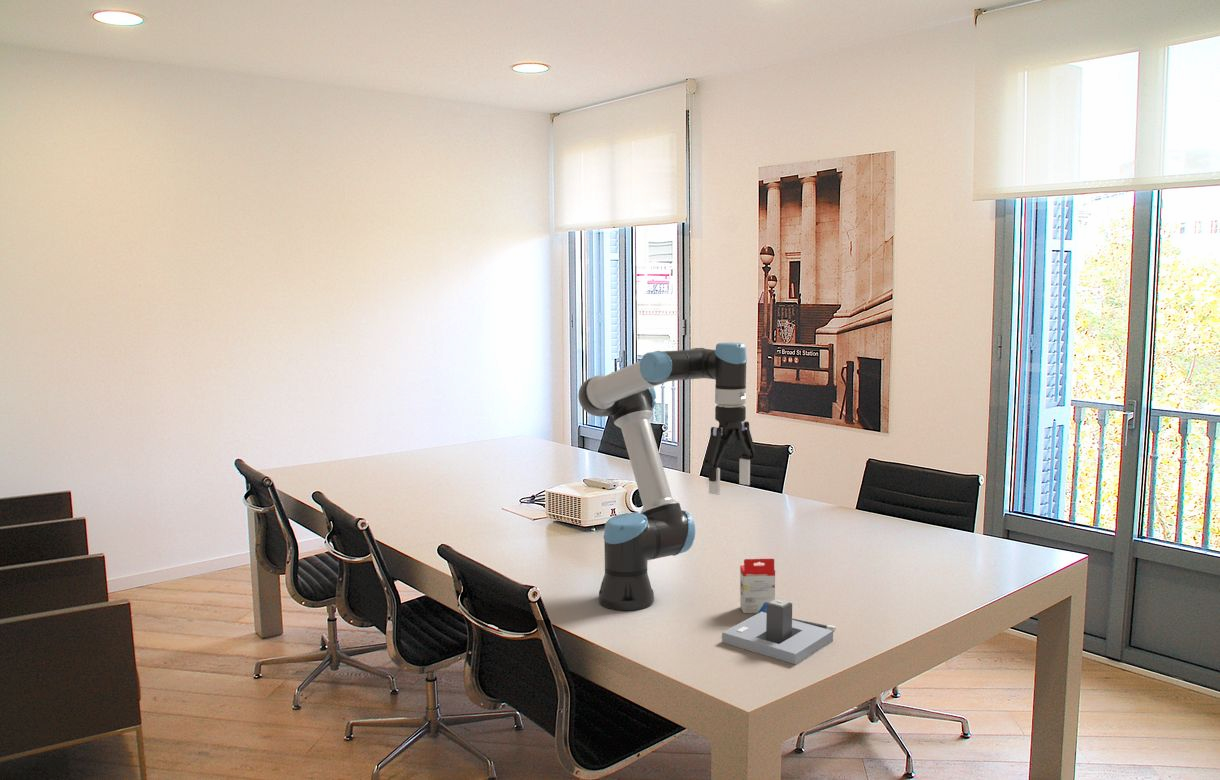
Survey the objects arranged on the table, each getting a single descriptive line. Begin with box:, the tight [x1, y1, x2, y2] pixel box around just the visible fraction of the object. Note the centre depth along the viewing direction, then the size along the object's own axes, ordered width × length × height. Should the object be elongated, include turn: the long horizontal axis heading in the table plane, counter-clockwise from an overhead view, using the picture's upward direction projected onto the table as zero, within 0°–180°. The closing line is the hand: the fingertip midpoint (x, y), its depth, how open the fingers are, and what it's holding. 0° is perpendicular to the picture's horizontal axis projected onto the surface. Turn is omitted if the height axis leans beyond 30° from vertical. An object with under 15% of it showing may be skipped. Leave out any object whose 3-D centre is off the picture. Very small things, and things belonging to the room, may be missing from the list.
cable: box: [792, 617, 837, 632], centre depth 229 cm, size 17×1×1 cm, turn 57°
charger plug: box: [766, 598, 793, 644], centre depth 216 cm, size 4×4×11 cm
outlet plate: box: [721, 612, 834, 666], centre depth 218 cm, size 20×18×3 cm
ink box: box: [739, 558, 776, 614], centre depth 238 cm, size 8×5×15 cm, turn 92°
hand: (729, 489), depth 226 cm, fingers open, 13 cm apart
